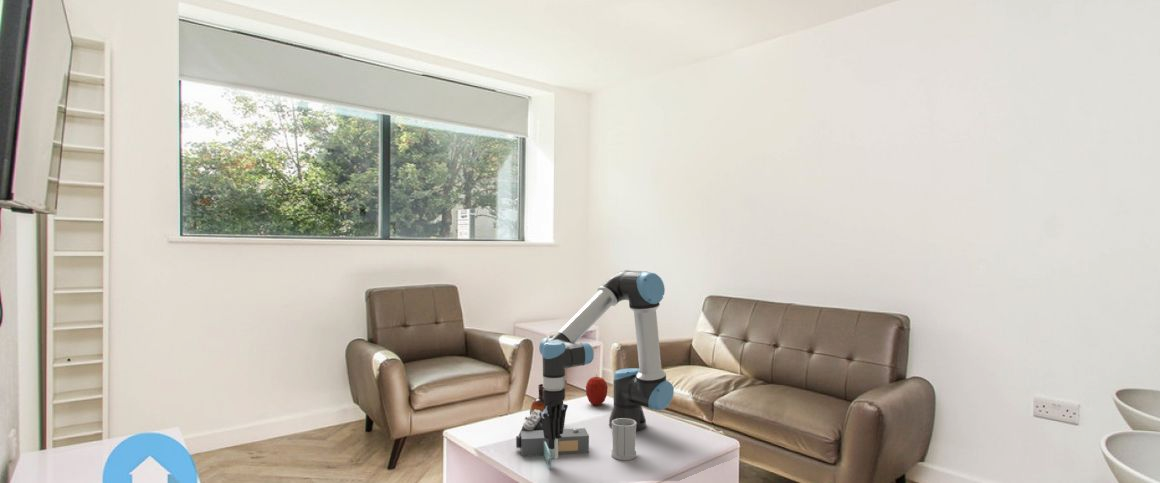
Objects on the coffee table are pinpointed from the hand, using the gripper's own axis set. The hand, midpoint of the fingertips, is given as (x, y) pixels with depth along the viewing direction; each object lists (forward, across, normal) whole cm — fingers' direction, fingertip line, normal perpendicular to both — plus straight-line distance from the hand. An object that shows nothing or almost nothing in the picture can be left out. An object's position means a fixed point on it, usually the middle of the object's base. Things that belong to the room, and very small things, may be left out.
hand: (553, 457), depth 187 cm
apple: (+4, -66, -27) cm, 71 cm away
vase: (+3, -32, -31) cm, 45 cm away
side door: (+2, -1, -4) cm, 4 cm away
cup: (+3, -22, +14) cm, 27 cm away
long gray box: (+3, -11, -8) cm, 14 cm away
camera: (+3, -15, -21) cm, 26 cm away
